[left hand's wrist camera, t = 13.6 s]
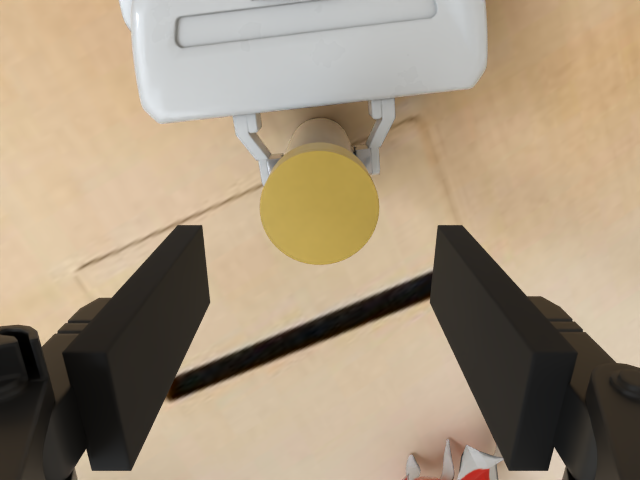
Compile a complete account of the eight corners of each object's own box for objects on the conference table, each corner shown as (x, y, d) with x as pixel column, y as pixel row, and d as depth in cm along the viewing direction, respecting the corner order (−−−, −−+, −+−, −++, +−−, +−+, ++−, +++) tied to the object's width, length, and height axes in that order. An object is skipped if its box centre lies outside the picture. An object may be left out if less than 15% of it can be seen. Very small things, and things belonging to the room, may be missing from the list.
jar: (279, 161, 35) (250, 229, 20) (306, 106, 33) (295, 136, 19) (332, 188, 36) (340, 271, 21) (360, 135, 34) (391, 185, 19)
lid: (248, 218, 22) (240, 235, 20) (294, 121, 20) (291, 128, 18) (341, 262, 23) (343, 282, 21) (393, 173, 21) (401, 185, 19)
